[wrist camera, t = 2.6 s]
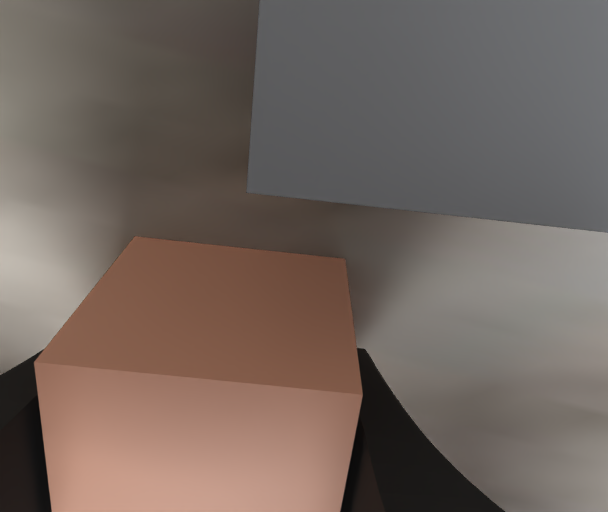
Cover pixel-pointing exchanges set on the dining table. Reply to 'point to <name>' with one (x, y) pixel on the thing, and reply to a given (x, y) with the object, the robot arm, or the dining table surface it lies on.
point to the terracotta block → (203, 384)
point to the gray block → (435, 107)
